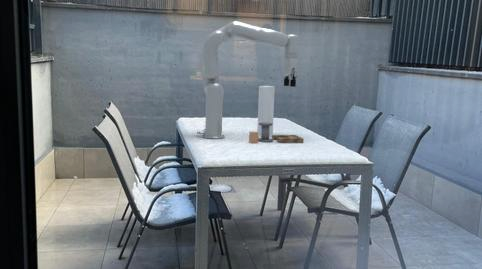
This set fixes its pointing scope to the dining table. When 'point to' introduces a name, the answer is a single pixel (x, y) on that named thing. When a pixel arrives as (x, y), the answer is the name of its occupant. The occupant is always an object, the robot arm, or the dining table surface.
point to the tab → (253, 137)
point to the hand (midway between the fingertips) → (289, 86)
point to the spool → (265, 132)
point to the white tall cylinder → (266, 107)
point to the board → (287, 138)
